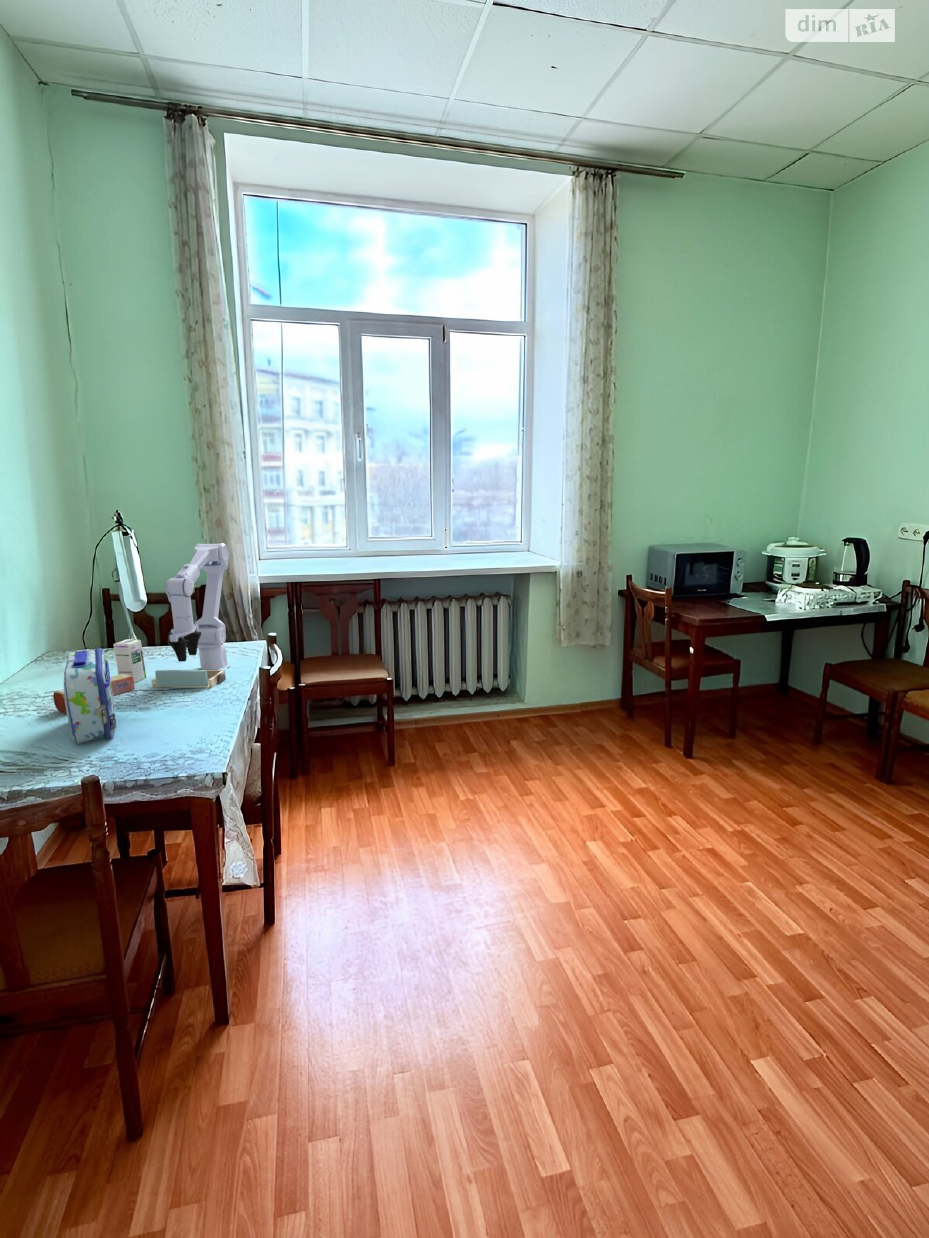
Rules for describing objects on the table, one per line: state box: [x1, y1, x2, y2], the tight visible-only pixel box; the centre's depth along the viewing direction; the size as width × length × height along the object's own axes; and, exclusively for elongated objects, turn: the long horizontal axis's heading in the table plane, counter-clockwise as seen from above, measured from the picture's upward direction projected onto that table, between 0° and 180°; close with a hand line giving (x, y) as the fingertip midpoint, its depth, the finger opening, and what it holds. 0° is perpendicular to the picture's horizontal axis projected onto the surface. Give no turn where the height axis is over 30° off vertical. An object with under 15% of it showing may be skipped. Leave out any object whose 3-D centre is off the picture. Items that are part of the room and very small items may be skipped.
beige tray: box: [151, 669, 227, 689], centre depth 205 cm, size 10×21×4 cm, turn 86°
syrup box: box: [113, 638, 147, 684], centre depth 207 cm, size 6×6×14 cm
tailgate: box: [154, 669, 208, 687], centre depth 200 cm, size 1×16×5 cm, turn 87°
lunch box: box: [63, 647, 117, 744], centre depth 170 cm, size 26×11×21 cm, turn 29°
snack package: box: [52, 674, 135, 714], centre depth 193 cm, size 21×7×7 cm, turn 147°
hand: (187, 658), depth 204 cm, fingers open, 6 cm apart
